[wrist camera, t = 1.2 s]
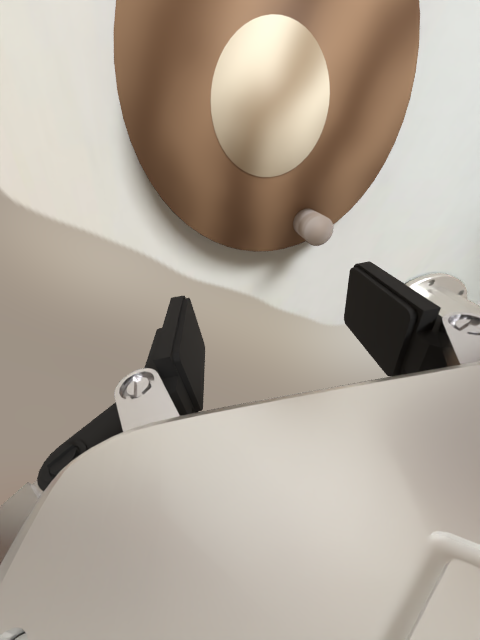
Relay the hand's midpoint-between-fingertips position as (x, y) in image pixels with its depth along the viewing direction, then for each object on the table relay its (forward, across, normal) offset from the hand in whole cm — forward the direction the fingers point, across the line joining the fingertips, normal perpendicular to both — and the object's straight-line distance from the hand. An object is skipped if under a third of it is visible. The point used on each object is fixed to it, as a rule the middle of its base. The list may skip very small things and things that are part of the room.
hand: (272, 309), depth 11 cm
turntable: (+16, -4, -8) cm, 19 cm away
